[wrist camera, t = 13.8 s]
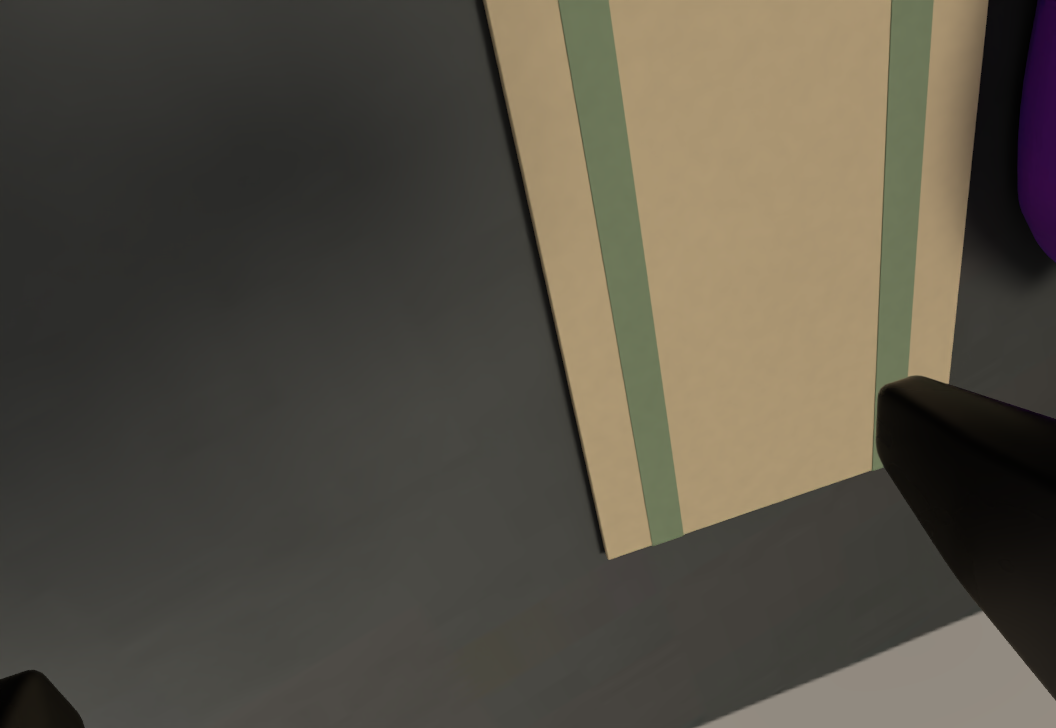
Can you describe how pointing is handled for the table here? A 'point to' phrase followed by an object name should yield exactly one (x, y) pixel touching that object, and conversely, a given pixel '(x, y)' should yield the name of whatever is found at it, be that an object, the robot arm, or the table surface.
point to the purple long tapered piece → (1039, 131)
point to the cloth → (740, 232)
